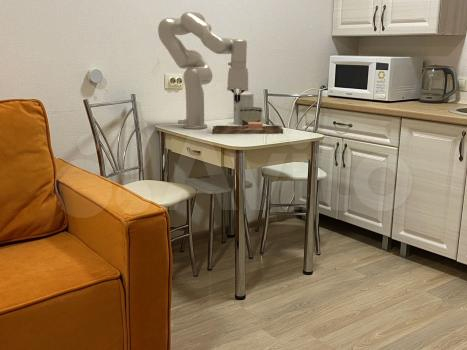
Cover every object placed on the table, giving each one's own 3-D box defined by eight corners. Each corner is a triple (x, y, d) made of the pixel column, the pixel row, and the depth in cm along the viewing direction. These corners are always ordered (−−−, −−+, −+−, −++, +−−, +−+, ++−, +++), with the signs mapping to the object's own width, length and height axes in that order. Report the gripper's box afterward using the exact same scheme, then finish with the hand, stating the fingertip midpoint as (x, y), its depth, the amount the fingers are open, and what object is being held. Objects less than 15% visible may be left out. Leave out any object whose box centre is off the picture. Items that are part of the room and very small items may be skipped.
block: (248, 132, 259) (248, 123, 258) (247, 130, 266) (248, 121, 265) (262, 132, 259) (262, 123, 258) (261, 130, 266) (261, 121, 265)
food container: (262, 125, 283) (263, 107, 281) (262, 126, 277) (262, 108, 275) (240, 124, 284) (240, 106, 282) (239, 126, 278) (239, 108, 276)
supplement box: (249, 122, 295) (249, 92, 291) (254, 124, 286) (254, 93, 282) (233, 122, 293) (233, 92, 289) (237, 125, 284) (237, 94, 280)
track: (212, 133, 255) (212, 129, 255) (213, 129, 267) (213, 125, 267) (283, 133, 255) (283, 129, 254) (280, 129, 267) (281, 125, 267)
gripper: (223, 65, 250) (222, 103, 255) (253, 66, 250) (252, 103, 255) (223, 64, 257) (222, 101, 262) (253, 65, 257) (251, 102, 262)
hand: (237, 102), depth 258 cm, fingers closed
